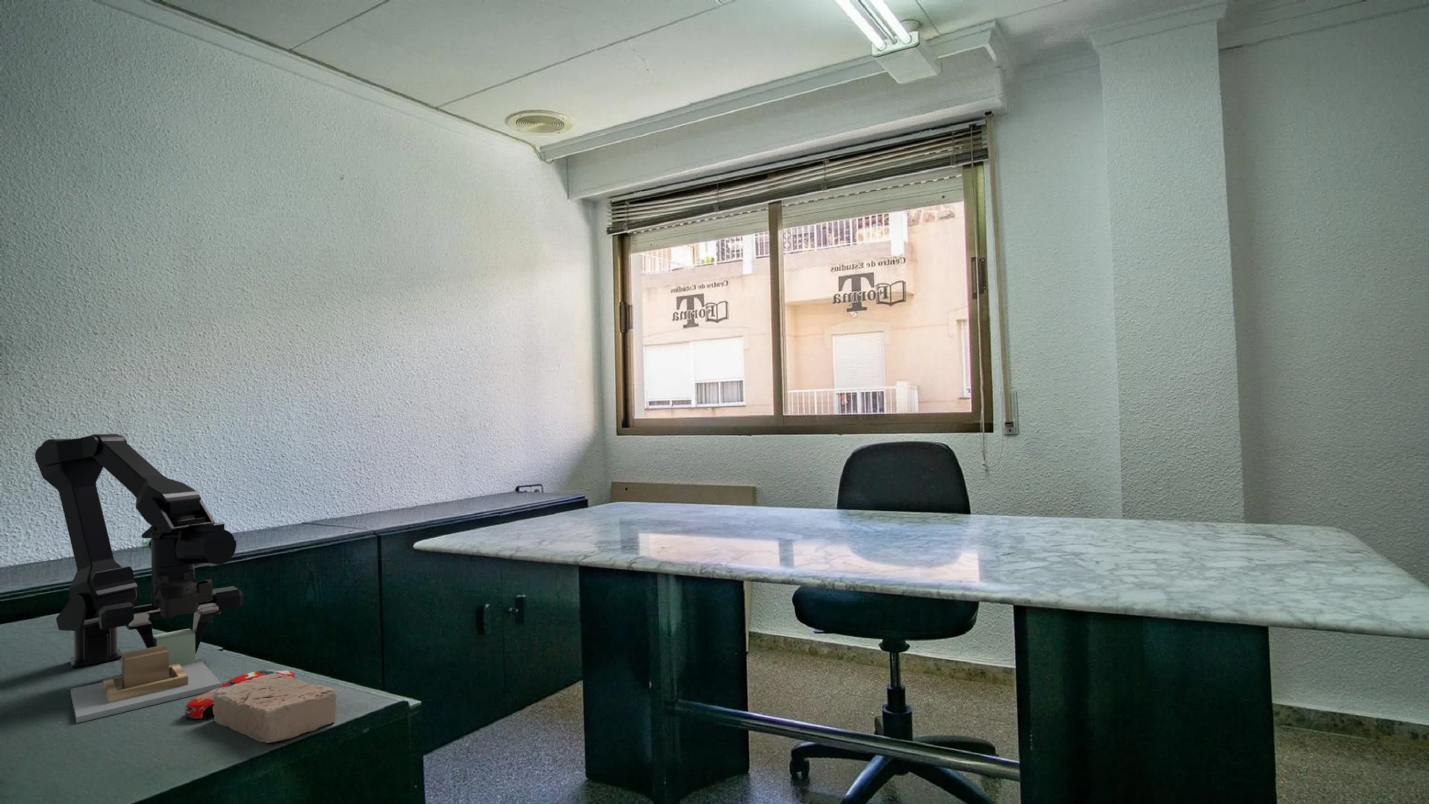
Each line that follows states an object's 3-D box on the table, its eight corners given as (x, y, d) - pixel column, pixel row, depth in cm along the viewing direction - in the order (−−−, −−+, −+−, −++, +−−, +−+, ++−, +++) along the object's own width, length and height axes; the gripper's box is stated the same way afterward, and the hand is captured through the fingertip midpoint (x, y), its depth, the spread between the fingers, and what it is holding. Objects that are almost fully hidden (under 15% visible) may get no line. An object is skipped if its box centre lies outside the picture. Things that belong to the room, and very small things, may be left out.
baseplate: (70, 694, 105) (70, 680, 105) (201, 665, 116) (201, 653, 116) (76, 723, 94) (76, 707, 94) (221, 688, 105) (221, 674, 105)
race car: (190, 727, 92) (189, 696, 92) (180, 717, 95) (179, 687, 95) (302, 695, 102) (301, 667, 102) (289, 687, 105) (288, 660, 105)
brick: (209, 723, 93) (208, 687, 93) (277, 701, 100) (277, 667, 100) (270, 751, 83) (269, 711, 84) (340, 725, 90) (339, 688, 91)
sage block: (153, 665, 118) (153, 635, 118) (190, 657, 121) (189, 628, 121) (157, 671, 114) (157, 640, 114) (195, 663, 118) (195, 633, 118)
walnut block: (122, 687, 105) (121, 653, 105) (164, 677, 109) (164, 644, 109) (125, 695, 101) (125, 659, 102) (169, 685, 105) (168, 651, 105)
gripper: (103, 580, 106) (104, 685, 106) (249, 560, 119) (251, 653, 119) (98, 571, 114) (98, 669, 113) (235, 553, 127) (236, 641, 127)
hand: (174, 658), depth 118 cm, fingers closed on sage block, 5 cm apart
